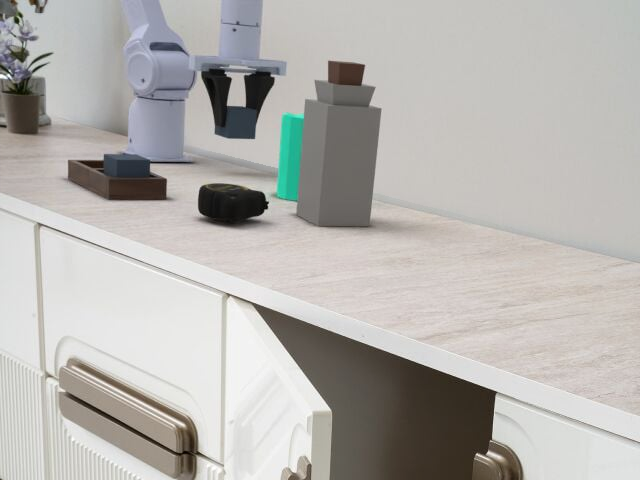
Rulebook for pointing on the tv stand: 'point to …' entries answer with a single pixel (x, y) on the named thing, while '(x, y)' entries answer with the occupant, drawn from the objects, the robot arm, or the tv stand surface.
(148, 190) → the holder
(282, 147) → the candle
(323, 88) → the perfume bottle
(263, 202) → the tape measure
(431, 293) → the tv stand surface
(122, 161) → the dark blue cube
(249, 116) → the slate blue cube
